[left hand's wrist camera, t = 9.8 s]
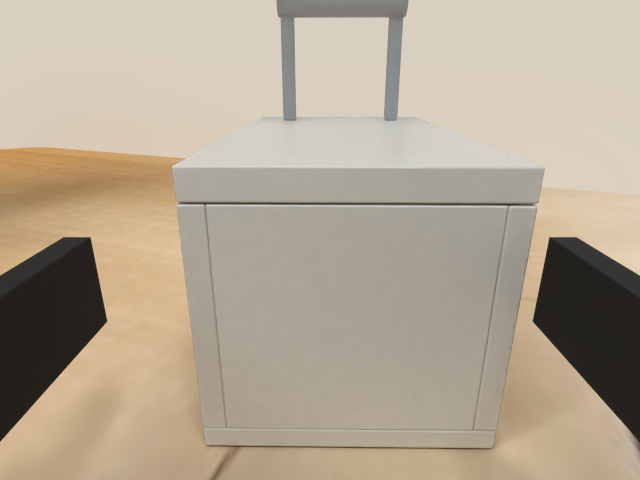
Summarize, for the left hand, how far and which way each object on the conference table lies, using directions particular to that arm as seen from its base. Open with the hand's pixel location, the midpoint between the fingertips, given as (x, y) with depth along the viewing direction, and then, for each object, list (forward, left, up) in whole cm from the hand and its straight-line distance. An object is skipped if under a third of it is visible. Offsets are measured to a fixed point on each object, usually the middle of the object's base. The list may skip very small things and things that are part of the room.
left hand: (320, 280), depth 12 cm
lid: (+7, -6, +2) cm, 9 cm away
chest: (+6, -5, -6) cm, 11 cm away
